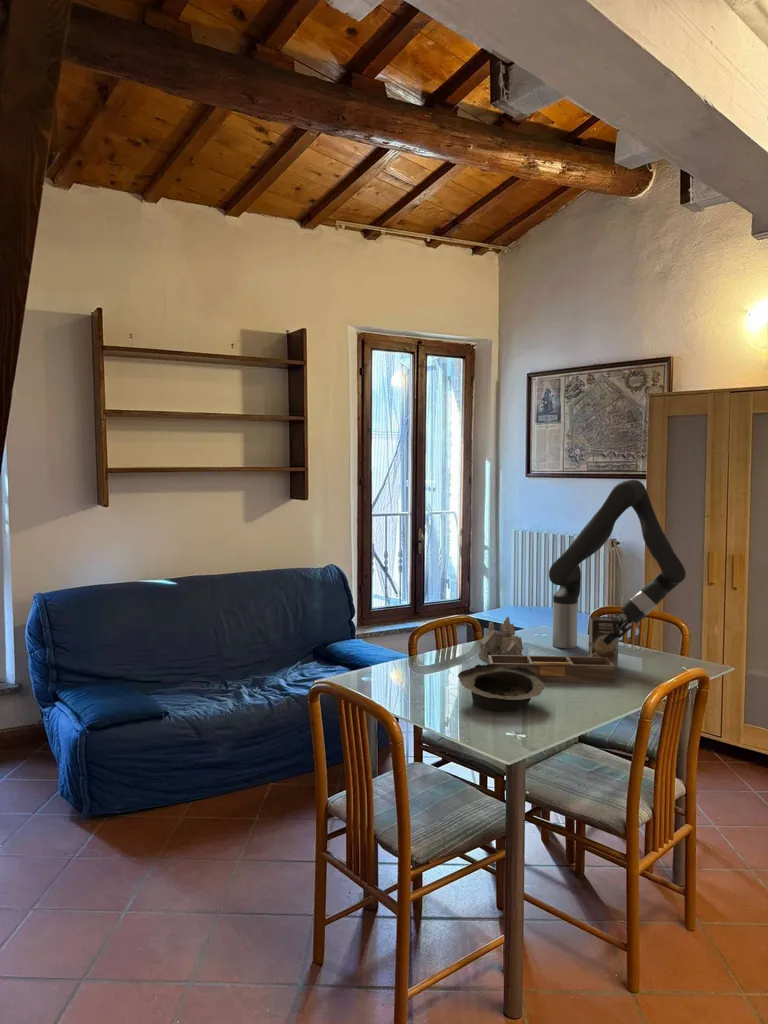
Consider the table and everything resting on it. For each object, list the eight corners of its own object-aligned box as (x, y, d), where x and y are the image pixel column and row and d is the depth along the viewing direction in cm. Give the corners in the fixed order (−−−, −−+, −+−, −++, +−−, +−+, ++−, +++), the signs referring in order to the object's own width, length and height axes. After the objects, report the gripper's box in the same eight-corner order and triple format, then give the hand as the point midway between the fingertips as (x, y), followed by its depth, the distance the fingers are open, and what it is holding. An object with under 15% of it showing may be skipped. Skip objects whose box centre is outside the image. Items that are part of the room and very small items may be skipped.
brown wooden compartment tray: (487, 670, 249) (488, 653, 248) (607, 673, 246) (607, 655, 245) (490, 680, 237) (490, 662, 237) (615, 683, 234) (615, 664, 234)
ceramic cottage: (477, 652, 272) (479, 613, 271) (521, 655, 271) (523, 616, 269) (479, 666, 257) (481, 625, 255) (526, 669, 256) (528, 628, 254)
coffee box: (591, 666, 250) (591, 620, 248) (587, 661, 256) (588, 616, 255) (618, 666, 249) (619, 620, 248) (614, 661, 255) (615, 616, 254)
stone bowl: (486, 685, 232) (488, 657, 231) (557, 707, 216) (560, 677, 215) (442, 703, 213) (444, 673, 212) (517, 729, 197) (520, 696, 196)
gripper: (625, 595, 257) (590, 627, 259) (636, 603, 243) (599, 637, 245) (640, 610, 257) (605, 642, 259) (652, 619, 243) (615, 653, 245)
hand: (603, 640), depth 252 cm, fingers closed on coffee box, 6 cm apart
